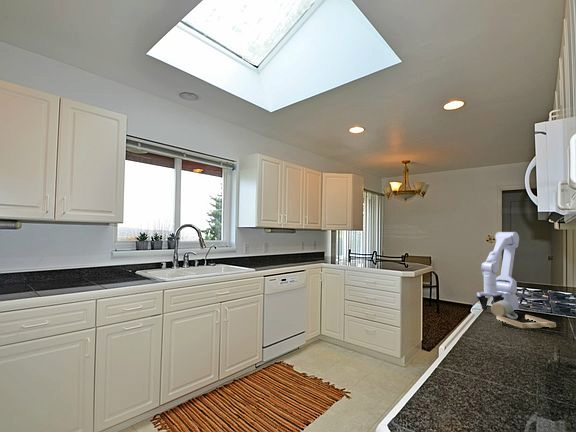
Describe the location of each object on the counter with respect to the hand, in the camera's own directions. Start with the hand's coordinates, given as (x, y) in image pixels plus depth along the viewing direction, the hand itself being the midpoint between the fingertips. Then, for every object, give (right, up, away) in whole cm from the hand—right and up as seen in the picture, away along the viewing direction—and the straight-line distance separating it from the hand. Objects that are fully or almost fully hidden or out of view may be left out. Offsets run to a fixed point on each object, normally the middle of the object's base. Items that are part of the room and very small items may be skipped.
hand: (490, 309), depth 161 cm
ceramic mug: (+2, -1, -8) cm, 8 cm away
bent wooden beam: (+3, 0, -20) cm, 20 cm away
